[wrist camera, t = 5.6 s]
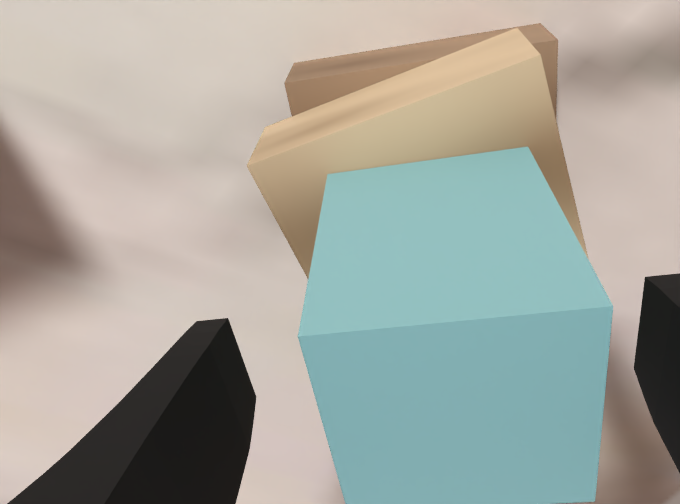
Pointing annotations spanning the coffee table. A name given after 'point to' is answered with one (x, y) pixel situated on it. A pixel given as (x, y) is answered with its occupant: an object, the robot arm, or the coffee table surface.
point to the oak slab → (414, 131)
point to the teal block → (456, 335)
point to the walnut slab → (397, 66)
